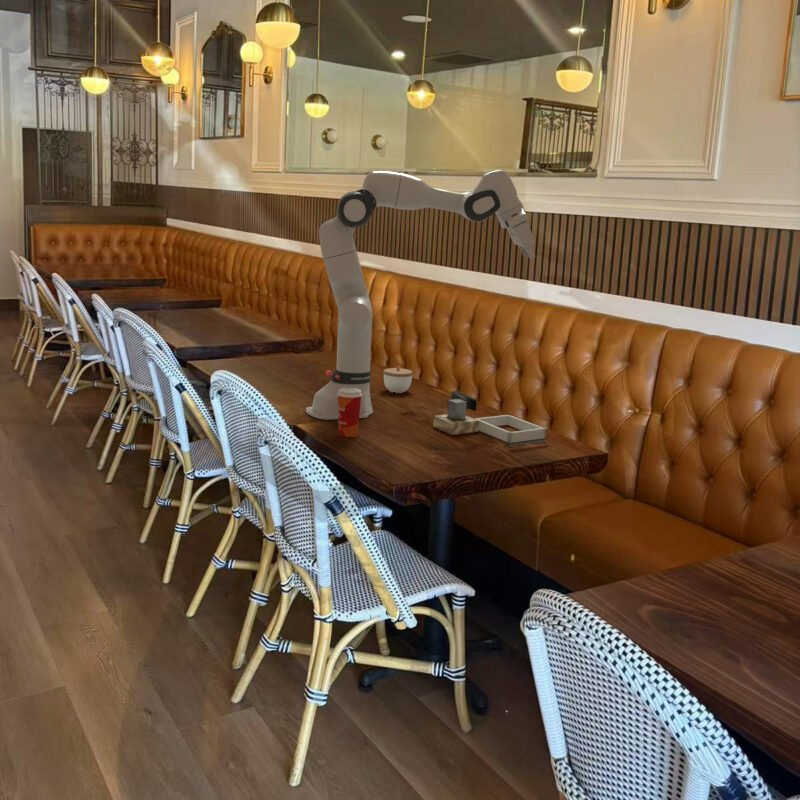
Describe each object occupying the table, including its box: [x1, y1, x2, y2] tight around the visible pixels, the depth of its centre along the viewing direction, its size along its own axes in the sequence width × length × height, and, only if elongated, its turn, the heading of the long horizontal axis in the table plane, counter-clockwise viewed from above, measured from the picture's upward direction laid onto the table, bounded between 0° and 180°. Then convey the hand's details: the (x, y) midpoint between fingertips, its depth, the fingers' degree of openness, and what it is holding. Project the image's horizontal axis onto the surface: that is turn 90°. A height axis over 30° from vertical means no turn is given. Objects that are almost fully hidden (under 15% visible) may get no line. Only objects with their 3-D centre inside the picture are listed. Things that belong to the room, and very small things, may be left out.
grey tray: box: [474, 414, 547, 448], centre depth 270 cm, size 14×18×4 cm
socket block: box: [432, 413, 479, 436], centre depth 271 cm, size 10×10×5 cm
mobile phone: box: [450, 390, 478, 412], centre depth 307 cm, size 5×3×15 cm
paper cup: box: [337, 388, 362, 438], centre depth 263 cm, size 8×8×14 cm
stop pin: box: [447, 399, 467, 421], centre depth 271 cm, size 4×4×9 cm
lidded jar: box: [383, 365, 413, 394], centre depth 325 cm, size 11×11×9 cm
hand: (529, 257), depth 284 cm, fingers open, 8 cm apart
